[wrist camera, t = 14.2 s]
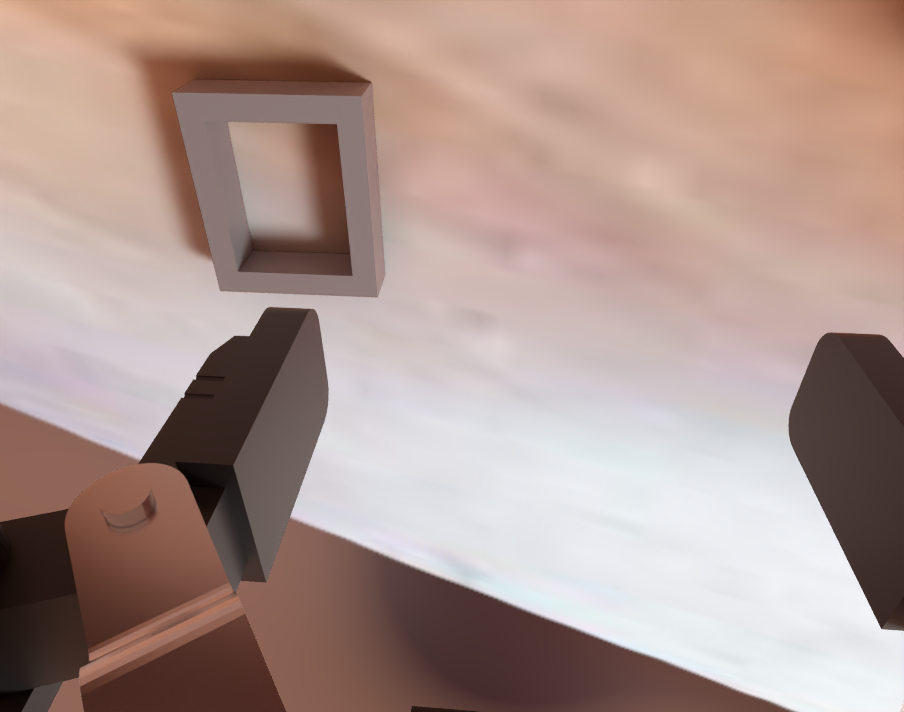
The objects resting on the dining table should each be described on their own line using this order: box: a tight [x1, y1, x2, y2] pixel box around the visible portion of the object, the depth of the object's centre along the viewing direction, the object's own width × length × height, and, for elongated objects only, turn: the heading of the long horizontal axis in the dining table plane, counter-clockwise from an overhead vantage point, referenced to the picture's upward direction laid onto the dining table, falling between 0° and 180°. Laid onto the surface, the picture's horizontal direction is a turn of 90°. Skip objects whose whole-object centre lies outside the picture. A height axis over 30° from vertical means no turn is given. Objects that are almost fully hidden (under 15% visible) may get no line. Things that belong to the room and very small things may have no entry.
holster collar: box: [172, 79, 385, 297], centre depth 40 cm, size 10×12×3 cm
